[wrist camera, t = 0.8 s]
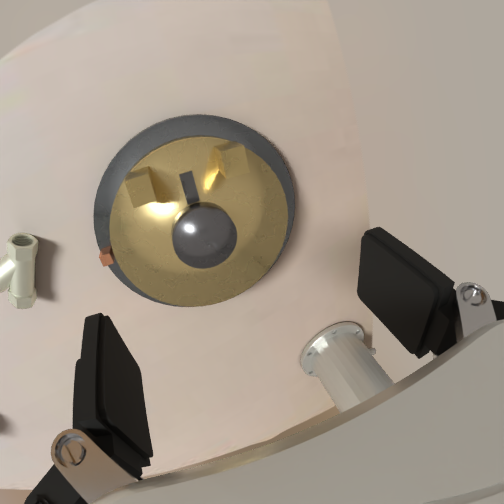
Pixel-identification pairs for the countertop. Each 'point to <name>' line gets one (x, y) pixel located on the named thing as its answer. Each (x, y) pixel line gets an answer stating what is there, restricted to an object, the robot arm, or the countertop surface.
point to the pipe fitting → (19, 270)
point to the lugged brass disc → (198, 221)
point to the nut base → (165, 133)
